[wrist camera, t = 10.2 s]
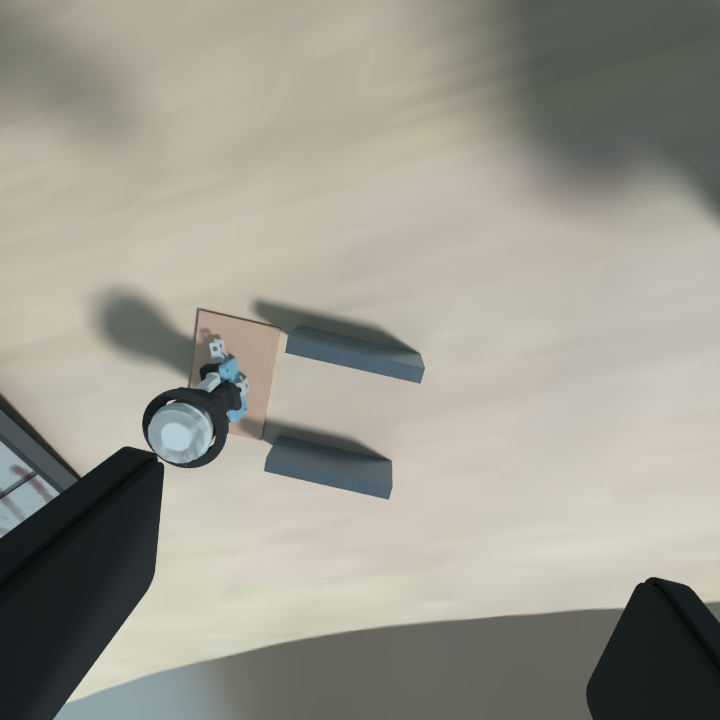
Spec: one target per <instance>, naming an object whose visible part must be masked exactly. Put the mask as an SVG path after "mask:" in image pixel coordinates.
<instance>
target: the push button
mask: <svg viewBox="0 0 720 720" xmlns="http://www.w3.org/2000/svg"><path fill="white" fill-rule="evenodd" d="M220 344H221V345H222V348H220ZM209 346H210V350H211V355H212V357H210V359H211V363H210V364H205V365H204V366H202V367H201V368H200V370H199V373H200V377H201V381H202V382H201V383H199V384H198V385H197V386H195V387H194V388H183V387H180V388H177V389H172V390H168V391H166V392H163V393H162V394H160V395H158V396H157V397H156V398H154V399H153V400H152V401H151V402H150V403H149V405H148V406H147V408H146V410H145V412H144V415H143V421H142V427H143V433H144V436H145V439H146V441H147V443H148V445H149V447H150V448H151V449H152V451H153V452H154V453H155V454H156V455H157V456H158V457H160V458H161V459H162V460H164V461H165V462H167V463H169V464H172V465H174V466H177V467H182V468H196V467H201V466H204V465H206V464H208V463H210V462H211V461H212V460H214V459H215V458H216V457H217V456H218V454H219V453H220V452H221V450H222V449H223V447H224V445H225V442H226V437H227V434H228V432H229V422H236V421H239V420H240V418H241V417H242V416H243V415H244V413H246V411H247V405H246V402H245V397H244V395H245V394H246V393H247V392H248V391H249V388H250V387H249V382H248V379H247V378H245V379H244V380H243V381H242V382H241V378H240V373H239V369H238V364H237V360H236V358H231V359H229V355H228V352H226V350H225V345H224V341H223V340H215V341H214V343H210V344H209ZM214 346H215V350H216V351H214V350H213V347H214ZM246 384H247V388H246ZM176 399H177V400H176ZM171 400H176V401H174V402H173V403H171V404H168V405H166V404H167V402H168V401H171ZM215 435H216V438H215V442H214V445H212V446H210V445H211V442H212V439H213V438H214V437H215Z"/></svg>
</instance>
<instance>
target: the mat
mask: <svg viewBox="0 0 720 720" xmlns="http://www.w3.org/2000/svg"><path fill="white" fill-rule="evenodd" d="M280 330H281V328H277V327H273V326H268V325H264V324H260V323H255V322H251V321H247V320H242V319H238V318H233V317H229V316H225V315H220V314H216V313H212V312H207V311H203V310H199V316H198V325H197V333H196V342H195V350H194V358H193V367H192V375H191V383H190V388H194V387H195V386H197V385H198V384H199V383H201V382H202V381H201V377H200V373H199V370H200V368H201V367H202V366H204V365H205V364H210V363H211V359H210V357H212V355H211V350H210V346H209V344H210V343H214V341H215V340H223V341H224V345H225V350H226V352H228V355H229V359H231V358H236V360H237V364H238V369H239V373H240V378H241V382H242V381H243V380H244V379H245V378H247V379H248V382H249V387H250V388H249V391H248V392H247V393H246V394H245V395H244V397H245V402H246V405H247V411H246V413H244V415H243V416H242V417H241V418H240V420H239V421H236V422H229V432H228V433H230V434H234V435H239V436H243V437H247V438H252V439H256V440H261V439H262V434H263V428H264V422H265V417H266V411H267V405H268V399H269V394H270V388H271V382H272V376H273V370H274V365H275V359H276V353H277V347H278V342H279V336H280ZM220 348H222V345H221V344H220ZM213 350H214V351H216V350H215V346H214V347H213ZM246 388H247V384H246Z"/></svg>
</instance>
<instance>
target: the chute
mask: <svg viewBox="0 0 720 720" xmlns="http://www.w3.org/2000/svg"><path fill="white" fill-rule="evenodd" d="M285 353H289V354H293V355H298V356H302V357H306V358H311V359H315V360H319V361H324V362H328V363H333V364H337V365H341V366H346V367H350V368H354V369H359V370H363V371H368V372H372V373H376V374H381V375H385V376H389V377H394V378H398V379H403V380H407V381H411V382H416V383H420V384H421V380H422V376H423V373H424V369H425V367H424V364H423V361H422V357H421V354H418V353H414V352H409V351H405V350H401V349H396V348H392V347H387V346H383V345H379V344H374V343H370V342H366V341H361V340H357V339H352V338H348V337H344V336H339V335H335V334H331V333H326V332H322V331H317V330H313V329H309V328H304V327H300V326H299V327H298V328H297V329H296V330H294V331H293V332H292V333H291V334H290V335H289V336H288V340H287V345H286V351H285ZM264 471H266V472H270V473H274V474H279V475H283V476H288V477H292V478H296V479H301V480H305V481H310V482H314V483H318V484H323V485H327V486H331V487H336V488H340V489H345V490H349V491H353V492H358V493H362V494H367V495H371V496H375V497H380V498H384V499H389V497H390V494H391V490H392V461H389V460H384V459H380V458H376V457H371V456H367V455H362V454H358V453H354V452H349V451H345V450H341V449H336V448H332V447H327V446H323V445H319V444H314V443H310V442H306V441H301V440H297V439H292V438H288V437H284V436H278V438H277V439H276V441H275V443H274V445H273V447H272V448H271V450H270V452H269V454H268V456H267V457H266V463H265V468H264Z"/></svg>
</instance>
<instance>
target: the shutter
mask: <svg viewBox="0 0 720 720" xmlns="http://www.w3.org/2000/svg"><path fill="white" fill-rule="evenodd" d="M77 481H78V480H77V479H76V478H75V477H74V476H73V475H72V474H71V473H69V472H68V471H67V470H66V469H65V468H64V467H63V466H62V465H61V464H60V463H59V462H57V461H56V460H55V459H54V458H53V457H52V456H51V455H50V454H49V453H48V452H46V451H45V450H44V449H43V448H42V447H41V446H40V445H39V444H38V443H37V442H36V441H34V440H33V439H32V438H31V437H30V436H29V435H28V434H27V433H26V432H25V431H23V430H22V429H21V428H20V427H19V426H18V425H17V424H16V423H15V422H14V421H13V420H11V419H10V418H9V417H8V416H7V415H6V414H5V413H4V412H3V411H2V410H0V538H1V537H2V536H4V535H5V534H7V533H8V532H9V531H11V530H12V529H13V528H15V527H16V526H17V525H19V524H20V523H21V522H23V521H24V520H25V519H27V518H28V517H29V516H31V515H32V514H34V513H35V512H36V511H38V510H39V509H40V508H42V507H43V506H44V505H46V504H47V503H48V502H50V501H51V500H52V499H54V498H55V497H56V496H58V495H59V494H60V493H62V492H63V491H65V490H66V489H67V488H69V487H70V486H71V485H73V484H74V483H75V482H77Z"/></svg>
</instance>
